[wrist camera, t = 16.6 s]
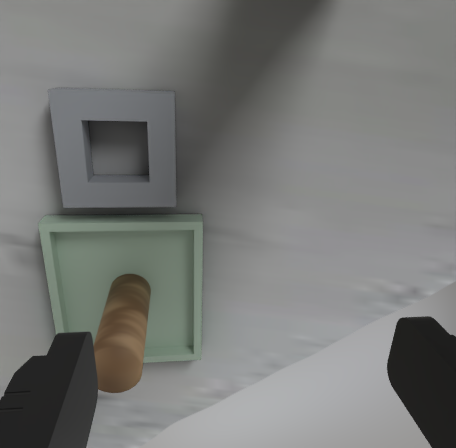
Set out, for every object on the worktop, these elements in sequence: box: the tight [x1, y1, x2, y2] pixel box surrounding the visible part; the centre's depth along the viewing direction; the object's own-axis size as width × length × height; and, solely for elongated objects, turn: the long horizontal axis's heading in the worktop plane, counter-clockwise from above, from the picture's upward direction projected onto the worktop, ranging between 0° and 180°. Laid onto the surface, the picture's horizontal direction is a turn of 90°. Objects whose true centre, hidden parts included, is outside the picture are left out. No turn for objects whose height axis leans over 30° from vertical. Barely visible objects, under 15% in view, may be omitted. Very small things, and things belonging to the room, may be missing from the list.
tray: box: [38, 214, 203, 363], centre depth 49 cm, size 18×20×2 cm
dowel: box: [93, 274, 151, 393], centre depth 43 cm, size 5×5×14 cm
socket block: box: [48, 88, 176, 208], centre depth 42 cm, size 12×12×3 cm
